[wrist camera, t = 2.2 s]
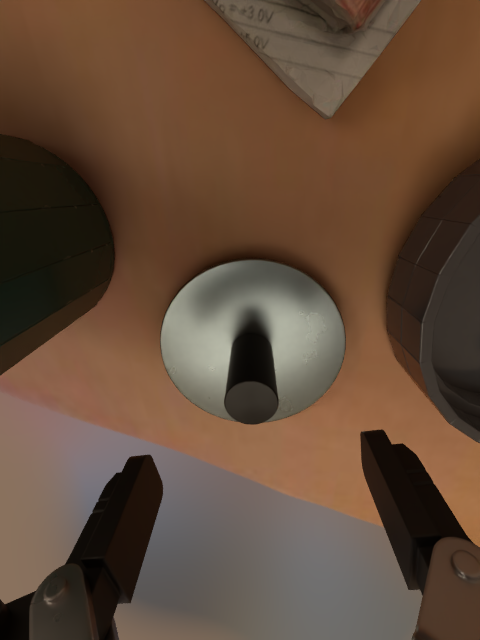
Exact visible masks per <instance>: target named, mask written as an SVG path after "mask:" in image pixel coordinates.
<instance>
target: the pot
mask: <svg viewBox="0 0 480 640" xmlns="http://www.w3.org/2000/svg"><path fill="white" fill-rule="evenodd" d="M113 267H114V244H113V238H112V233H111V230H110V226H109V223H108V220H107V218H106V215H105V213H104V210H103V209H102V207H101V205H100V203H99V201H98V199H97V198H96V196H95V195H94V193H93V192H92V190H91V189H90V187H89V186H88V185H87V184H86V183H85V181H84V180H83V179H82V178H81V177H80V176H79V174H78V173H76V172H75V171H74V170H73V169H72V168H71V167H70V166H69V165H68V164H67V163H65V162H64V161H63V160H61V159H60V158H59V157H58V156H56V155H55V154H53V153H51V152H50V151H48V150H46V149H45V148H43V147H41V146H38V145H36V144H34V143H32V142H30V141H29V140H25V139H20V138H16V137H12V136H7V135H3V134H0V375H2V374H3V373H4V372H6V371H7V370H8V369H10V368H11V367H13V366H14V365H15V364H17V363H18V362H19V361H21V360H22V359H23V358H25V357H26V356H28V355H29V354H30V353H32V352H33V351H34V350H36V349H37V348H38V347H40V346H41V345H43V344H44V343H45V342H47V341H48V340H49V339H51V338H52V337H54V336H55V335H56V334H58V333H59V332H60V331H62V330H63V329H64V328H66V327H67V326H69V325H70V324H71V323H73V322H74V321H75V320H77V319H78V318H79V317H81V316H82V315H84V314H85V313H86V312H88V311H89V310H90V309H92V308H93V307H95V305H96V304H97V302H98V301H99V300H100V299H101V298H102V296H103V295H104V293H105V291H106V290H107V288H108V285H109V283H110V281H111V277H112V273H113Z"/></svg>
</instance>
